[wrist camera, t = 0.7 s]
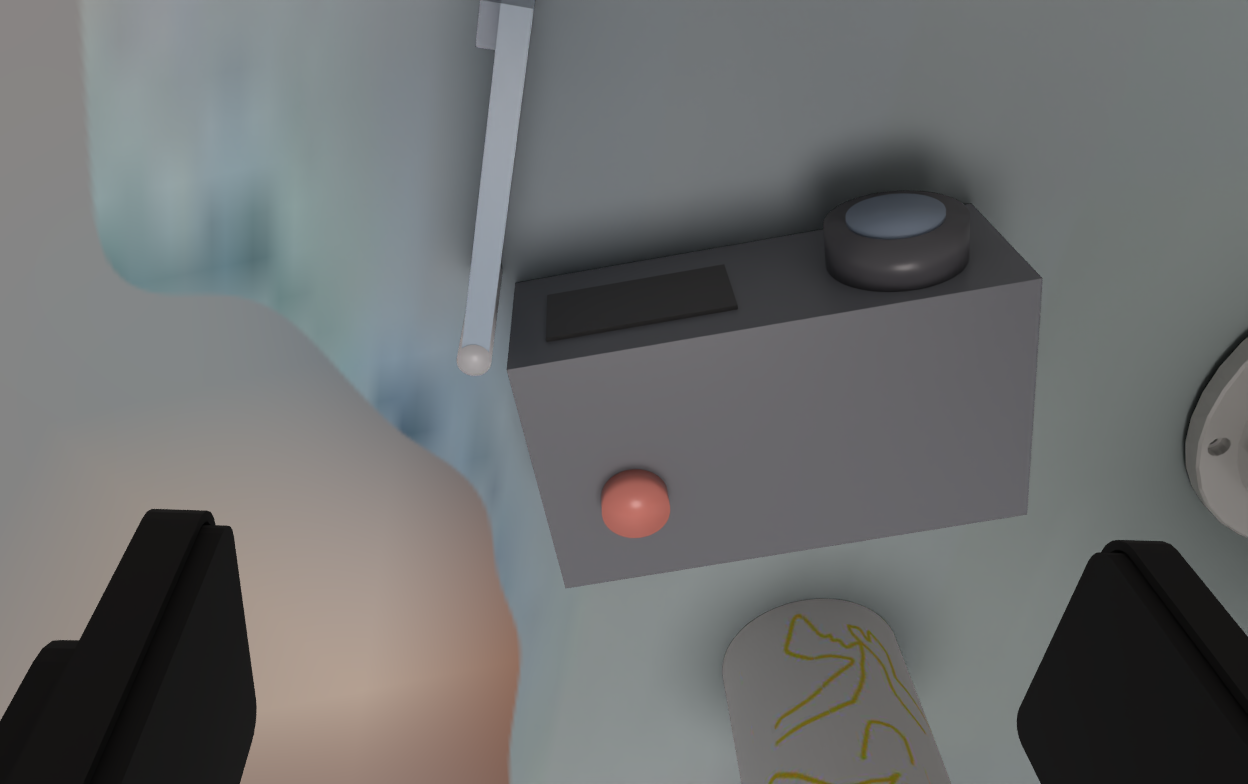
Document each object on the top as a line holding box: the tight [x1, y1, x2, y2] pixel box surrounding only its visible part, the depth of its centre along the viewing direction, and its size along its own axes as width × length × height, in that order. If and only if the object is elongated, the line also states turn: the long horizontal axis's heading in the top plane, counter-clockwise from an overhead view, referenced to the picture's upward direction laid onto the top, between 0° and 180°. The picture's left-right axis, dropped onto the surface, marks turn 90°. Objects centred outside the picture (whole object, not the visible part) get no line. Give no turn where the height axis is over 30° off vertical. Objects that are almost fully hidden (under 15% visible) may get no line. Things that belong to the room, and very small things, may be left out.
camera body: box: [507, 191, 1042, 588], centre depth 33 cm, size 16×11×7 cm, turn 99°
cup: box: [722, 599, 951, 784], centre depth 41 cm, size 8×8×12 cm
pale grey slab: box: [457, 0, 535, 376], centre depth 29 cm, size 10×2×6 cm, turn 169°
